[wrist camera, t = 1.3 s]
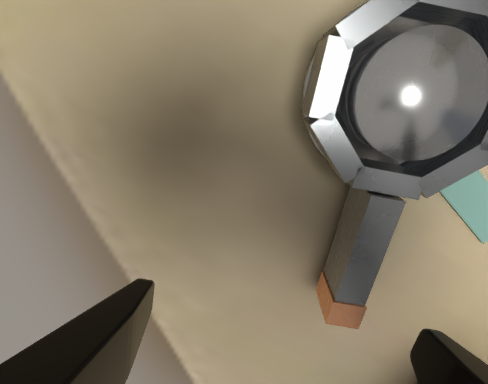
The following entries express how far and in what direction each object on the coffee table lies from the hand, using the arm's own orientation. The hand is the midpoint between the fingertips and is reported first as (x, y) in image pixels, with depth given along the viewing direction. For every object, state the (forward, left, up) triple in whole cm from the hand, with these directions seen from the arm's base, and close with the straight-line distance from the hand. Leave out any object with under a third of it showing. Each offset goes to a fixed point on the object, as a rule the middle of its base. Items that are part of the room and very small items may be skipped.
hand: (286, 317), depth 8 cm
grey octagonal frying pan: (+2, -6, -11) cm, 13 cm away
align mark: (+1, -14, -12) cm, 18 cm away
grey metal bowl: (+6, -6, -12) cm, 15 cm away
